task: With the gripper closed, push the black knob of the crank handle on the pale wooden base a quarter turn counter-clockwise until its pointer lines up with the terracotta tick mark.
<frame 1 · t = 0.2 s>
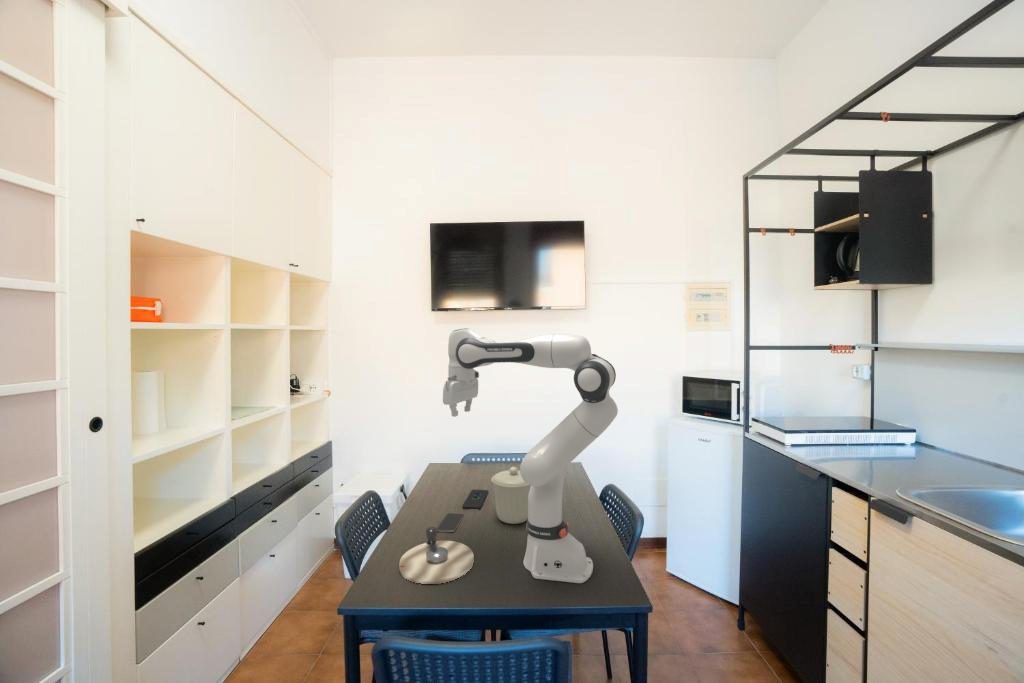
hand: (461, 413, 147), 47 cm above the table, tool pointing down, fingers open, 8 cm apart
smartphone: (450, 524, 165), on the table
smart home device: (475, 501, 188), on the table
dial base: (437, 563, 136), on the table
crank handle: (434, 544, 139), point 5 cm above the table, hinge at 0.0°
canister: (513, 519, 169), on the table
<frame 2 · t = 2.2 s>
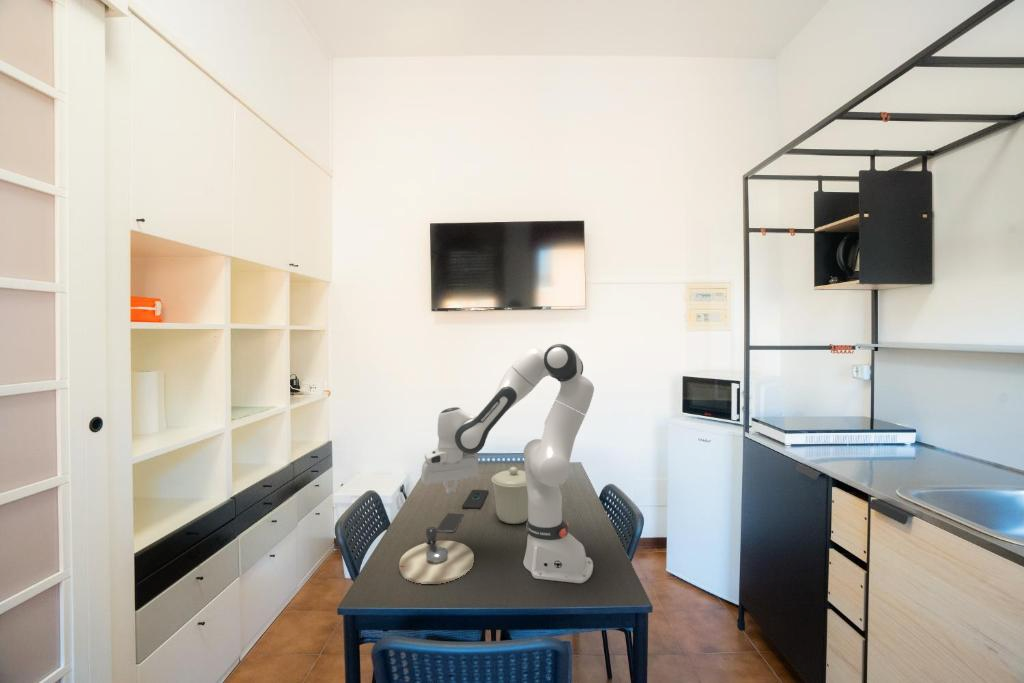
hand: (450, 492, 147), 19 cm above the table, tool pointing down, fingers closed
nothing on the table moved.
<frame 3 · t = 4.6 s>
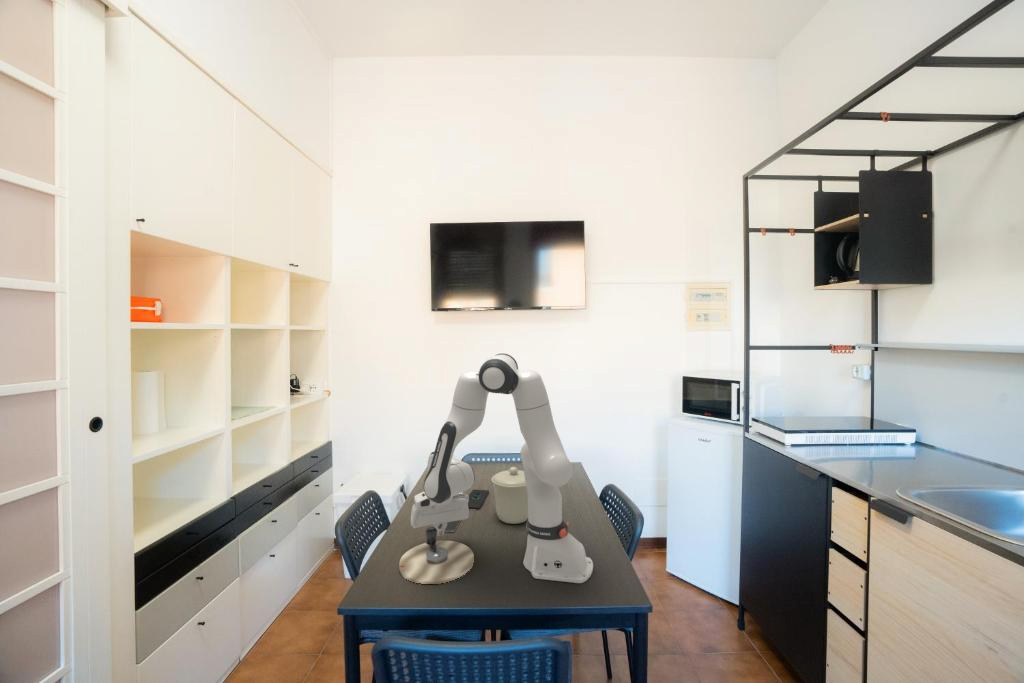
hand: (440, 534, 146), 5 cm above the table, tool pointing down, fingers closed
crank handle: (434, 544, 139), point 5 cm above the table, hinge at 0.4°, touching gripper
everything else where it was.
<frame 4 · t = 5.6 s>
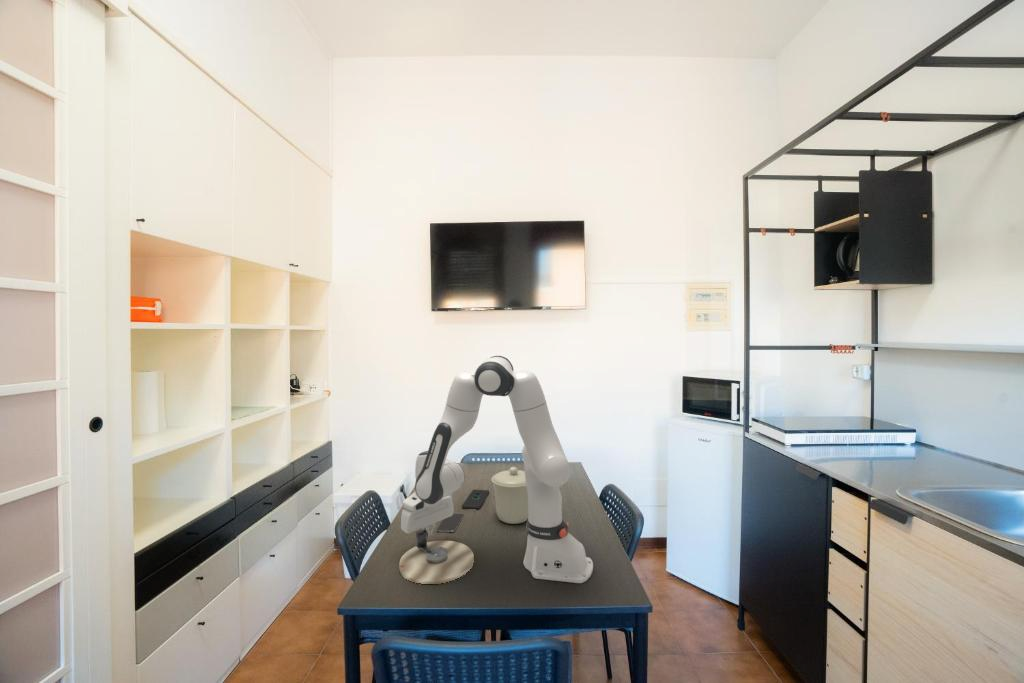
hand: (428, 536, 145), 5 cm above the table, tool pointing down, fingers closed
crank handle: (430, 545, 139), point 5 cm above the table, hinge at 23.2°, touching gripper
everything else where it was.
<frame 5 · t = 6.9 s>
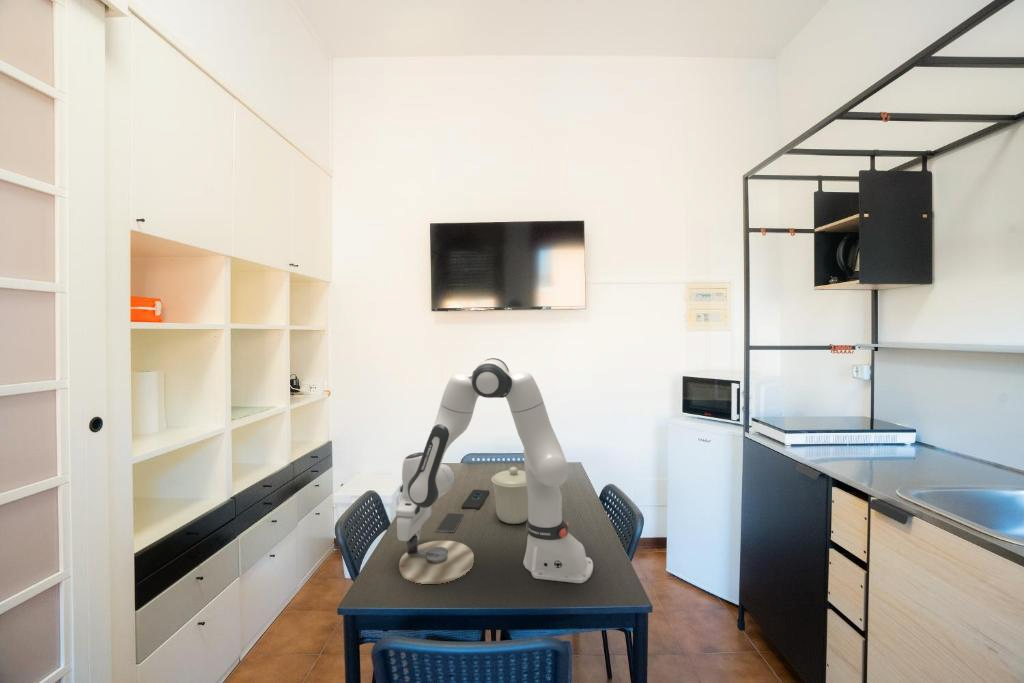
hand: (415, 541, 141), 5 cm above the table, tool pointing down, fingers closed
crank handle: (426, 548, 137), point 5 cm above the table, hinge at 53.1°, touching gripper
everything else where it was.
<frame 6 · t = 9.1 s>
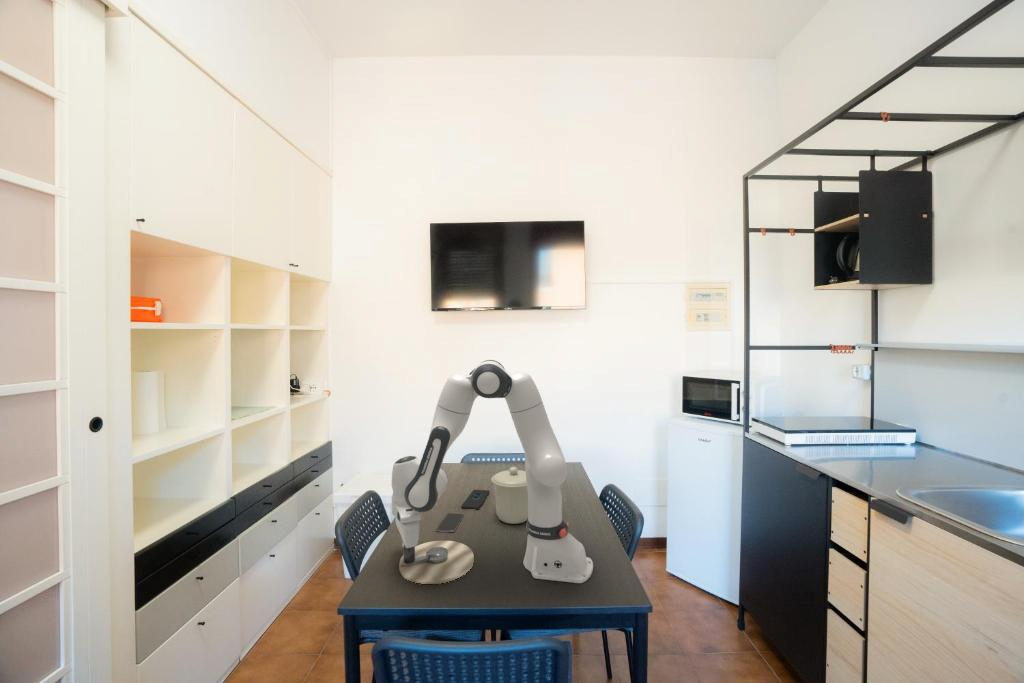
hand: (405, 548, 136), 5 cm above the table, tool pointing down, fingers closed
crank handle: (425, 551, 135), point 5 cm above the table, hinge at 90.5°
everything else where it was.
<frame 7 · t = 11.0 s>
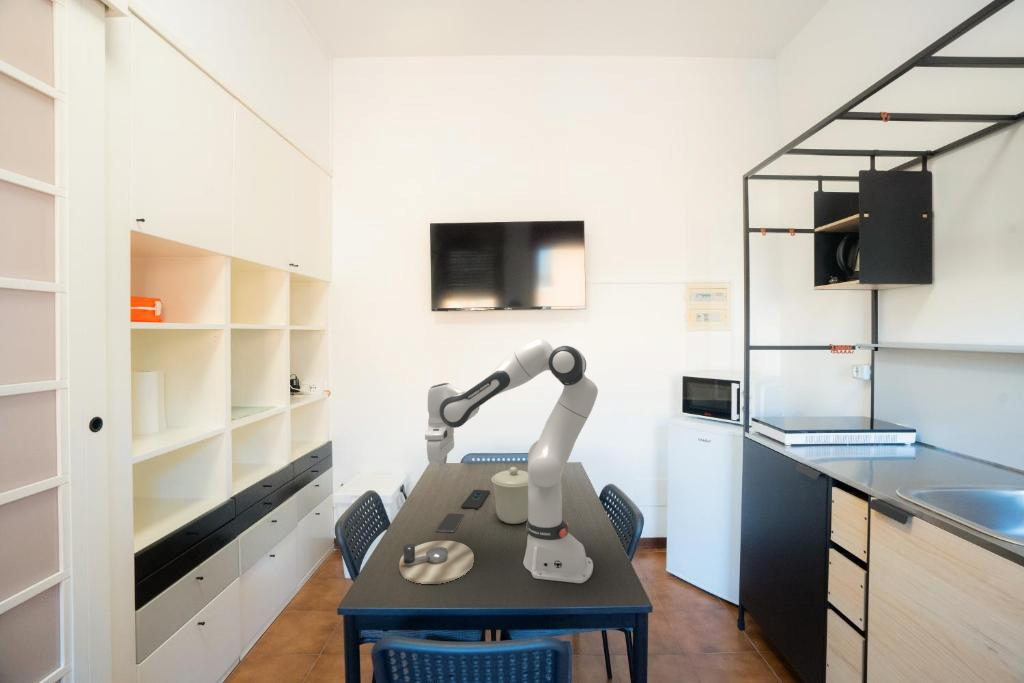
hand: (442, 468, 147), 28 cm above the table, tool pointing down, fingers closed
nothing on the table moved.
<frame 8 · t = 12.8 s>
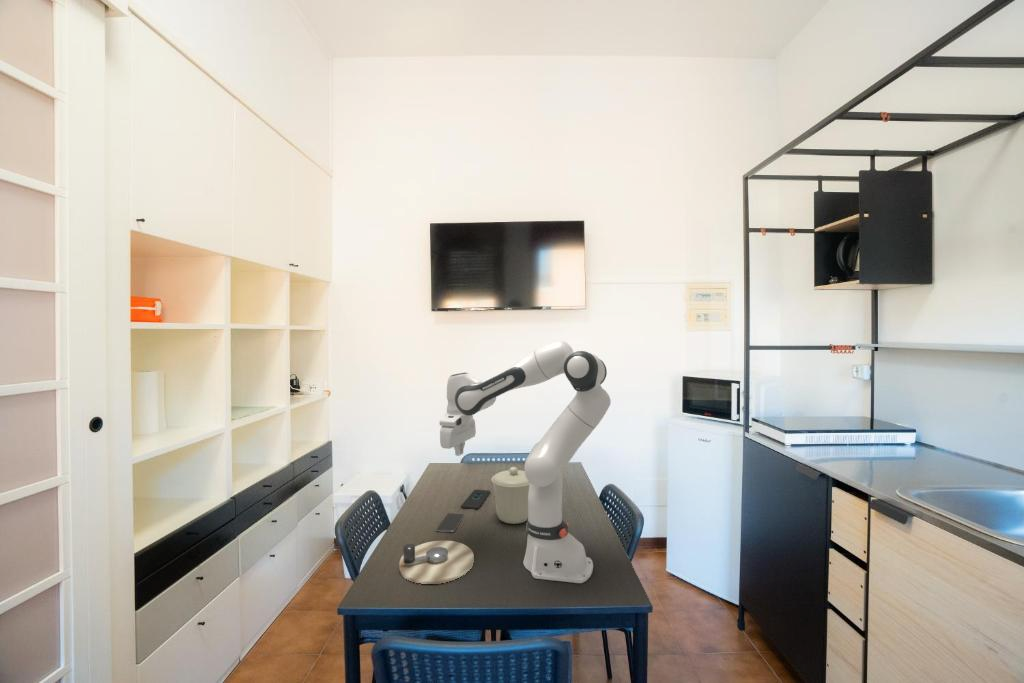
hand: (459, 454, 152), 31 cm above the table, tool pointing down, fingers closed
nothing on the table moved.
at the end: crank handle at +90° (first picture: +0°) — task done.
